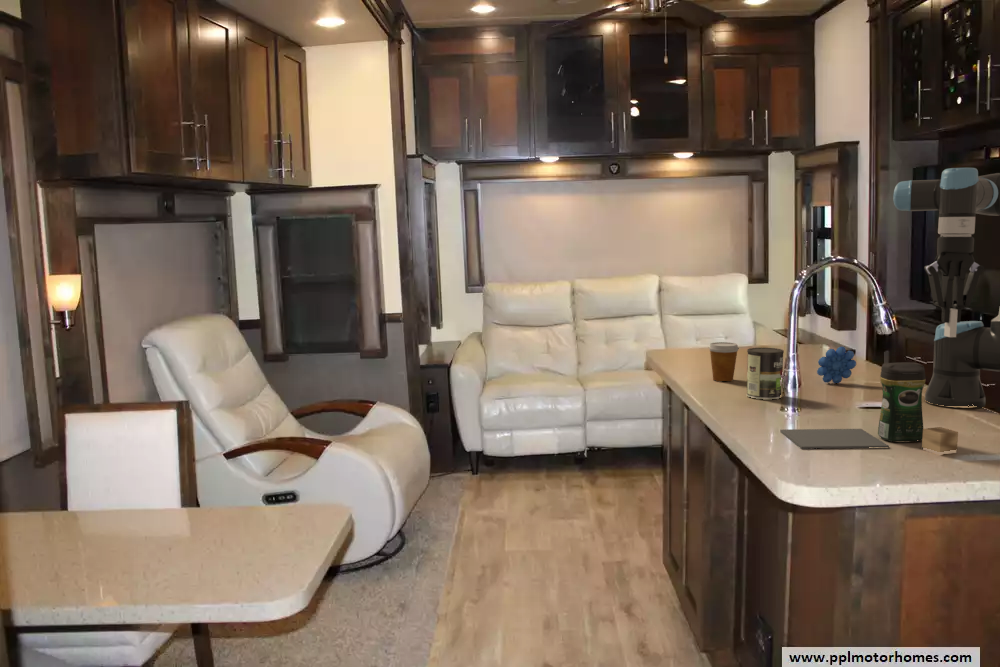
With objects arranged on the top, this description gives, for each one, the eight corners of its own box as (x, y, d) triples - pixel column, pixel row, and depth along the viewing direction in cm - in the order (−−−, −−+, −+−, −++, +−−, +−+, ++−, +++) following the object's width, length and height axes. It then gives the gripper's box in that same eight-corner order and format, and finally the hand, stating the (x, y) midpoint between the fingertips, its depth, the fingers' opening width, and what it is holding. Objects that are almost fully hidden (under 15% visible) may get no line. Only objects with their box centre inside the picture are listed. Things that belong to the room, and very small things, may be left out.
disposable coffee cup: (744, 380, 280) (745, 344, 278) (725, 384, 274) (726, 347, 272) (720, 376, 287) (721, 341, 286) (702, 380, 281) (702, 343, 280)
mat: (861, 431, 213) (861, 428, 213) (888, 448, 197) (889, 445, 197) (780, 431, 213) (780, 429, 213) (801, 449, 197) (801, 446, 197)
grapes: (852, 381, 275) (854, 344, 273) (857, 385, 268) (858, 347, 267) (814, 380, 277) (815, 344, 276) (817, 384, 271) (819, 347, 269)
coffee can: (787, 395, 256) (788, 348, 254) (775, 401, 247) (776, 353, 246) (753, 391, 262) (754, 346, 260) (740, 397, 254) (741, 350, 252)
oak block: (939, 448, 197) (940, 426, 196) (956, 453, 192) (958, 431, 192) (921, 450, 195) (922, 428, 195) (939, 455, 191) (940, 434, 190)
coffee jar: (912, 434, 209) (916, 359, 206) (928, 443, 201) (932, 365, 198) (872, 435, 209) (875, 360, 206) (886, 443, 201) (890, 365, 198)
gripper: (935, 236, 195) (929, 338, 198) (993, 235, 194) (986, 338, 198) (920, 235, 202) (914, 334, 205) (976, 235, 202) (969, 334, 205)
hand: (950, 336), depth 201 cm, fingers closed
